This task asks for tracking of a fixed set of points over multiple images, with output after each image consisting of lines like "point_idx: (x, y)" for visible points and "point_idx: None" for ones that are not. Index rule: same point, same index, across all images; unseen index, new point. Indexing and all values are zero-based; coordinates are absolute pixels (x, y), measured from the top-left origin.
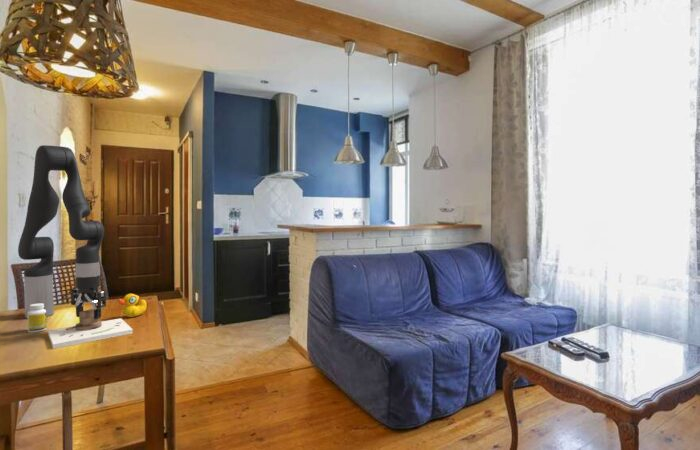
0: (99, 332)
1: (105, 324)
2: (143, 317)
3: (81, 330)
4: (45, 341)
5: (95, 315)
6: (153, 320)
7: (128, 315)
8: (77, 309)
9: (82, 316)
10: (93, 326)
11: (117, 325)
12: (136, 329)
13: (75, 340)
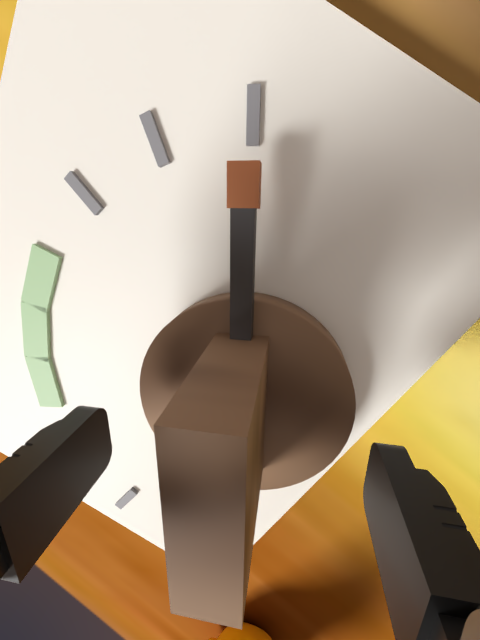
0: (23, 292)
1: None
2: (176, 622)
3: None
4: (385, 13)
5: (46, 435)
6: (80, 584)
7: (234, 631)
8: (418, 546)
9: (191, 385)
10: (144, 361)
11: None
12: None
13: (9, 65)
